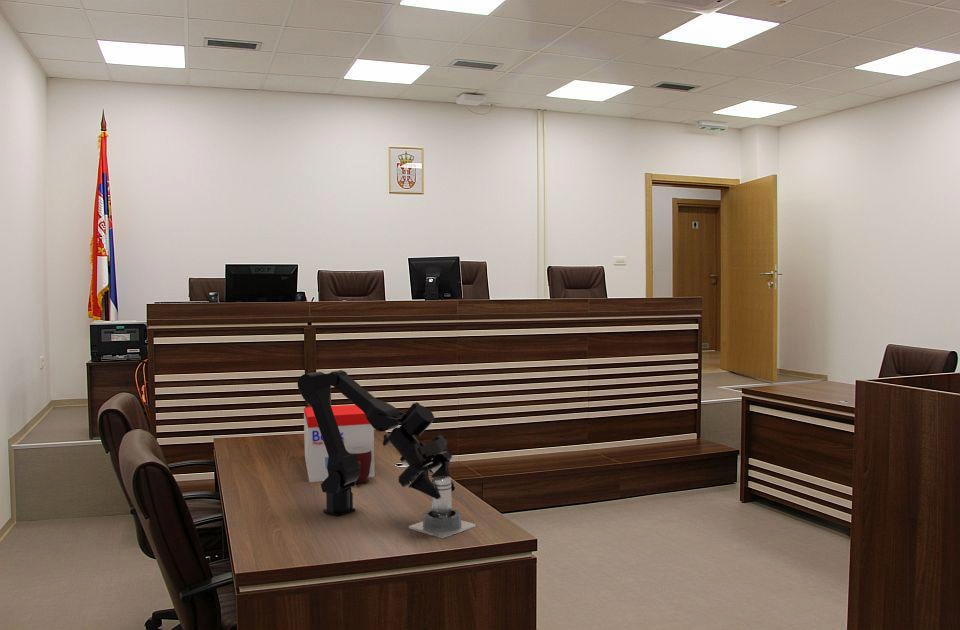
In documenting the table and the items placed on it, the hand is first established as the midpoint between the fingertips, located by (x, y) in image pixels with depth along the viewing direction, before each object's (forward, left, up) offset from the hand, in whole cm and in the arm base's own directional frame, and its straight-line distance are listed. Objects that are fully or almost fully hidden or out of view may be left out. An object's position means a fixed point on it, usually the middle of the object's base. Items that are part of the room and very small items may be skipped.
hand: (446, 494), depth 190 cm
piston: (0, +1, -8) cm, 8 cm away
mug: (+13, +51, -9) cm, 54 cm away
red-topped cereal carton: (+21, +74, -9) cm, 77 cm away
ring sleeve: (0, +1, -9) cm, 9 cm away
